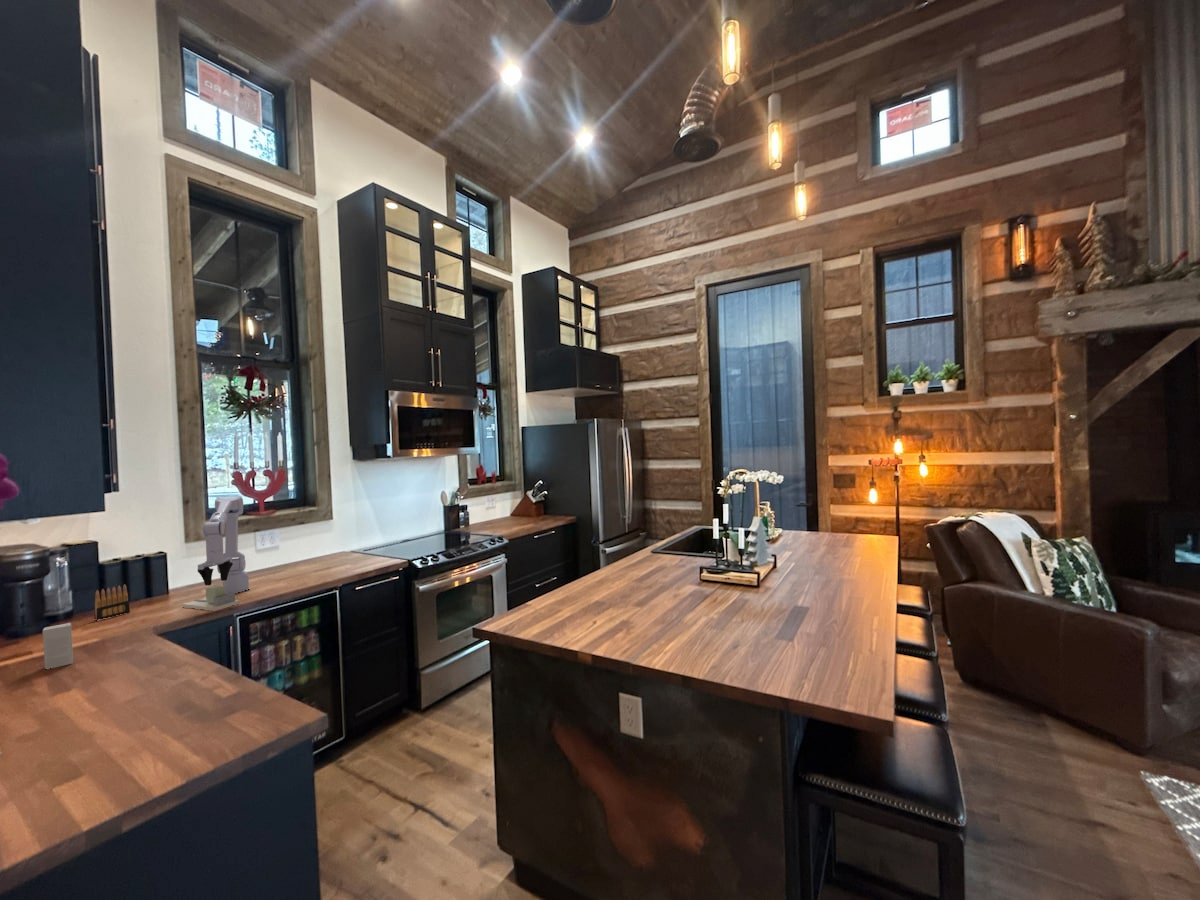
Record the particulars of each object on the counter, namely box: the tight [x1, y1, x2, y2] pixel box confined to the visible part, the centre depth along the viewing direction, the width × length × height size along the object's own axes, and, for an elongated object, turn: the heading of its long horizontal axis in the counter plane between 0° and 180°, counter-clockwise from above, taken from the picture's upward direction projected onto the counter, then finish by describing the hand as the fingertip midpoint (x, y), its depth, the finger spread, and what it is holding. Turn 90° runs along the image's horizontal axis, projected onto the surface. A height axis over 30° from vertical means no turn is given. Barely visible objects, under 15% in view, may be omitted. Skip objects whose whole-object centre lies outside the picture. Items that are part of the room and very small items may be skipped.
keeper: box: [205, 585, 226, 603], centre depth 216 cm, size 4×6×6 cm, turn 69°
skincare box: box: [42, 622, 74, 670], centre depth 159 cm, size 6×4×12 cm
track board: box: [182, 597, 240, 612], centre depth 218 cm, size 10×20×2 cm, turn 69°
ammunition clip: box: [93, 583, 131, 620], centre depth 207 cm, size 11×2×12 cm, turn 159°
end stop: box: [213, 593, 236, 606], centre depth 215 cm, size 7×2×4 cm, turn 159°
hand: (216, 582), depth 216 cm, fingers open, 7 cm apart
